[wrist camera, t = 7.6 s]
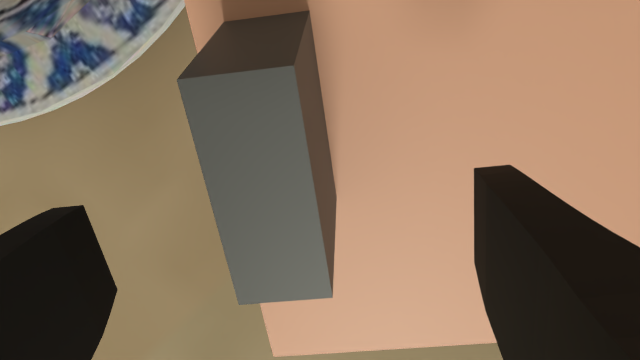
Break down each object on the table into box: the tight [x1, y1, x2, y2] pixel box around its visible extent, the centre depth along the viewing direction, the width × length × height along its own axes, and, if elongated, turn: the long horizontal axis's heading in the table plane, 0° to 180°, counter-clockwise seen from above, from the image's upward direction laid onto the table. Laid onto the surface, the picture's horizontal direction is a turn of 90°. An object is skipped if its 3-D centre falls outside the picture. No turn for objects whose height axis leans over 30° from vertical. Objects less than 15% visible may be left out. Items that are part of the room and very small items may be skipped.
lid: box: [177, 0, 640, 357], centre depth 12 cm, size 17×17×5 cm
